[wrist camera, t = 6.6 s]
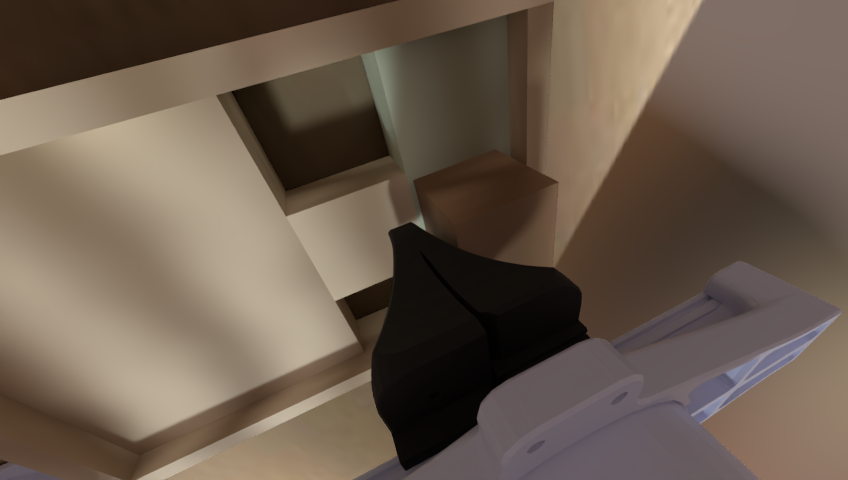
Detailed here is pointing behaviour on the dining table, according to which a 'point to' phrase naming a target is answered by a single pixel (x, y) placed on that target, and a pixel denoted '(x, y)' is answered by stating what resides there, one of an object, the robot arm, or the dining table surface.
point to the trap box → (227, 231)
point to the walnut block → (492, 209)
